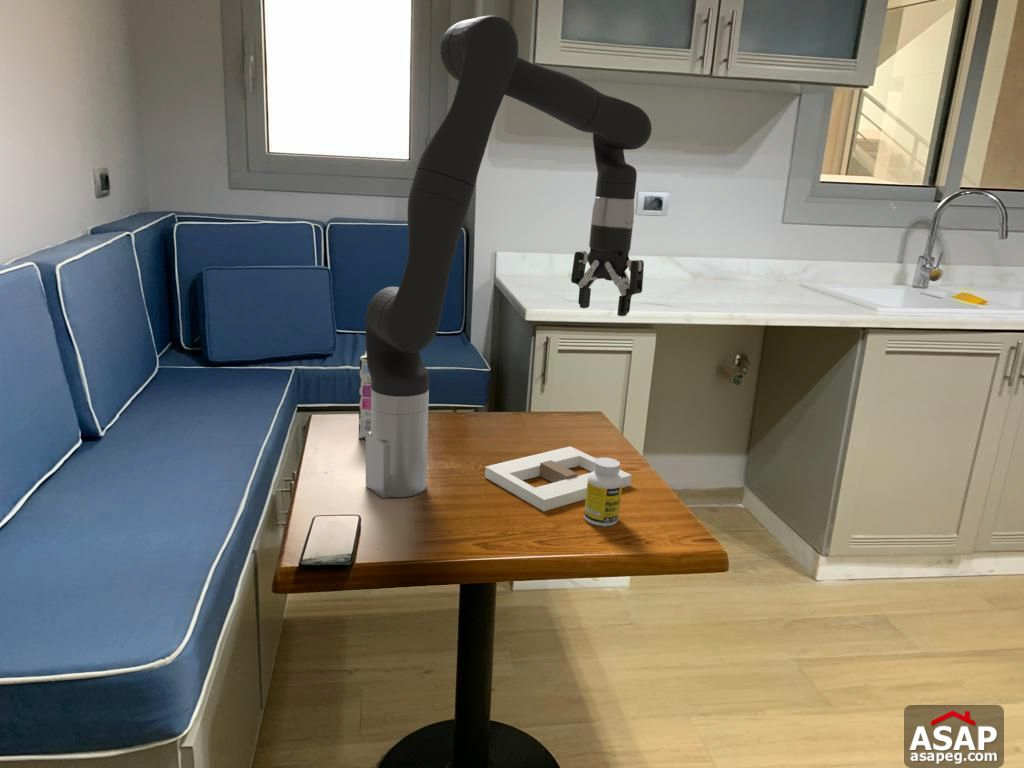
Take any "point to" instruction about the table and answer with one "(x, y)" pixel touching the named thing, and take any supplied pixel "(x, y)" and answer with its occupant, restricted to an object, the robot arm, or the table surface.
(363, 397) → the candy bar box
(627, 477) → the white frame
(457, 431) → the table surface
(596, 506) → the supplement bottle
